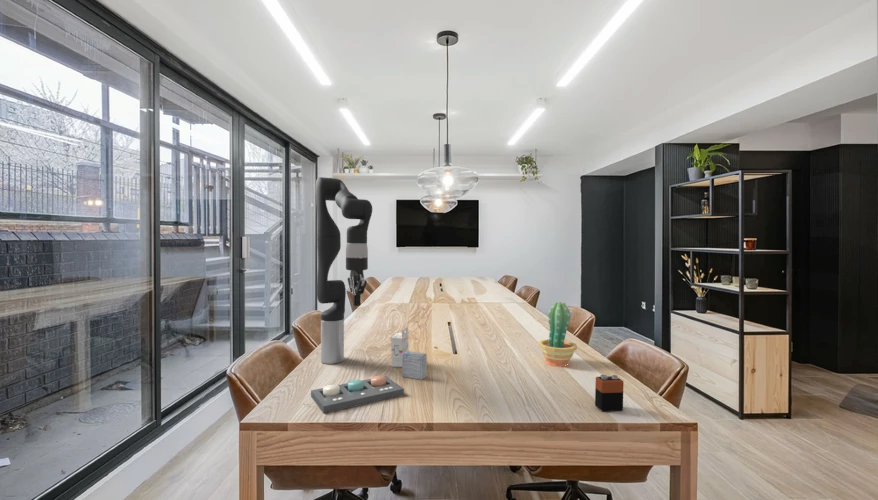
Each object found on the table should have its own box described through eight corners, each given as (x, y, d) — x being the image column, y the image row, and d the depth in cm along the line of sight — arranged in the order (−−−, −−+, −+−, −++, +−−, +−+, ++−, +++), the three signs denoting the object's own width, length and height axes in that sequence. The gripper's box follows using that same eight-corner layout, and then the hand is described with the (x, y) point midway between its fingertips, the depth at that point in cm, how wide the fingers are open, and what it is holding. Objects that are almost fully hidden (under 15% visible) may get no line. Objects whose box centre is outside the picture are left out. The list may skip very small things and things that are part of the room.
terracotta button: (368, 386, 133) (368, 377, 132) (382, 383, 135) (382, 374, 135) (374, 391, 128) (374, 381, 128) (388, 388, 131) (388, 379, 131)
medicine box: (426, 376, 144) (427, 353, 144) (421, 380, 140) (421, 356, 140) (408, 373, 147) (408, 350, 147) (402, 377, 143) (402, 353, 143)
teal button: (345, 390, 128) (345, 381, 128) (360, 387, 131) (360, 378, 131) (350, 396, 124) (350, 386, 124) (365, 392, 127) (365, 383, 127)
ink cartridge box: (397, 360, 163) (397, 325, 163) (408, 361, 162) (408, 325, 162) (390, 366, 155) (390, 329, 154) (402, 367, 154) (402, 330, 153)
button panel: (311, 396, 125) (311, 389, 125) (385, 381, 139) (385, 375, 139) (323, 413, 113) (323, 405, 113) (403, 394, 127) (404, 388, 127)
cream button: (321, 395, 124) (321, 386, 124) (336, 392, 127) (336, 383, 127) (325, 401, 120) (325, 391, 120) (341, 398, 122) (341, 388, 122)
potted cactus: (584, 364, 159) (586, 303, 158) (560, 371, 150) (561, 307, 150) (554, 355, 172) (555, 298, 171) (529, 361, 163) (530, 301, 162)
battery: (594, 405, 120) (595, 373, 119) (615, 405, 120) (616, 372, 120) (601, 412, 115) (602, 378, 115) (623, 411, 116) (624, 377, 116)
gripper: (340, 255, 141) (340, 303, 141) (353, 257, 129) (352, 309, 130) (360, 255, 145) (360, 302, 145) (374, 256, 133) (374, 307, 134)
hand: (356, 305), depth 137 cm, fingers closed
